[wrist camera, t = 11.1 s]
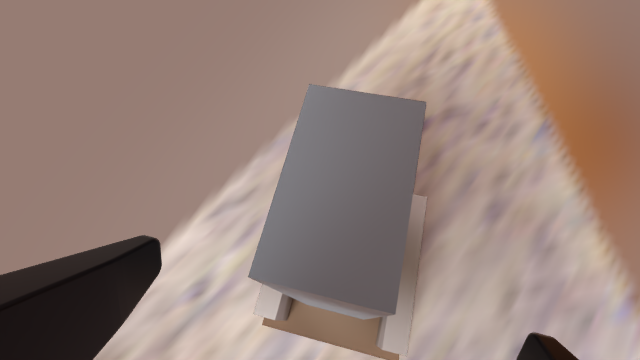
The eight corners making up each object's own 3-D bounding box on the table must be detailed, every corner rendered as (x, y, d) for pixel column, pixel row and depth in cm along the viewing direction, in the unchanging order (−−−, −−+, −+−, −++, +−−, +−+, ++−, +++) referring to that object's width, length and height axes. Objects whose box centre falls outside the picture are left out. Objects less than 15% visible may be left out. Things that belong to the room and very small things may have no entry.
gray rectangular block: (363, 319, 17) (395, 314, 6) (307, 304, 17) (248, 277, 7) (383, 210, 19) (431, 70, 8) (332, 199, 19) (318, 55, 9)
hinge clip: (395, 360, 17) (410, 371, 13) (266, 324, 18) (244, 325, 14) (415, 214, 20) (432, 188, 16) (304, 191, 21) (294, 161, 17)
